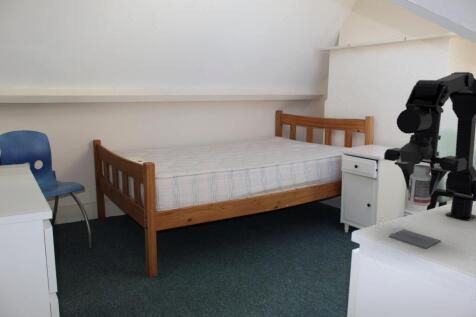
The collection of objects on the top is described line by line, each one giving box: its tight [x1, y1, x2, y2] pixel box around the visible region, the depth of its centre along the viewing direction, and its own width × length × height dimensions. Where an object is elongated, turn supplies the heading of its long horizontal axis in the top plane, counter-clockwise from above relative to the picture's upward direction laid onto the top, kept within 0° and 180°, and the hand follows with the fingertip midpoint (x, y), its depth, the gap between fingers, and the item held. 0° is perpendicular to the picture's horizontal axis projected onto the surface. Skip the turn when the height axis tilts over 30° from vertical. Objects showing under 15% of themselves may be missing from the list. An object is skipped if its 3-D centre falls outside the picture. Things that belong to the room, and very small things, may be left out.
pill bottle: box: [407, 164, 432, 207], centre depth 105 cm, size 5×5×10 cm
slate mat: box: [388, 228, 442, 250], centre depth 108 cm, size 8×10×1 cm
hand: (419, 192), depth 106 cm, fingers closed on pill bottle, 5 cm apart
